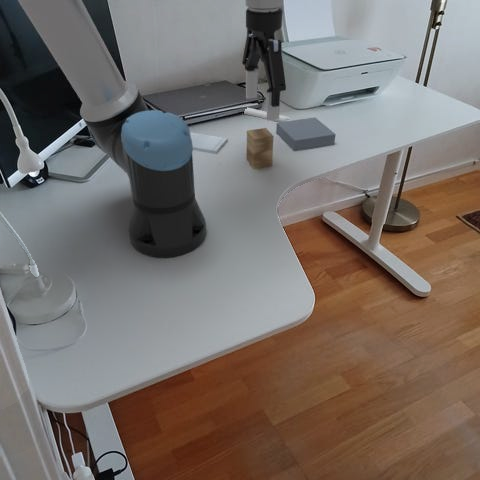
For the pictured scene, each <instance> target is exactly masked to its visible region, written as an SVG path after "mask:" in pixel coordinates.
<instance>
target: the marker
mask: <svg viewBox="0 0 480 480" xmlns="http://www.w3.org/2000/svg"><path fill="white" fill-rule="evenodd" d="M244 115H247V116H253V117H257V118H260V119H264V120H267V110H265V111H264V110H260V109H255V108H252V107H247V109H245V111H244ZM272 121H273V122H276V123H279V122H286V121H293V120H292V119H291V118H290V117H289V116H286V115H282V114H279V119H275V120H272Z"/></svg>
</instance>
